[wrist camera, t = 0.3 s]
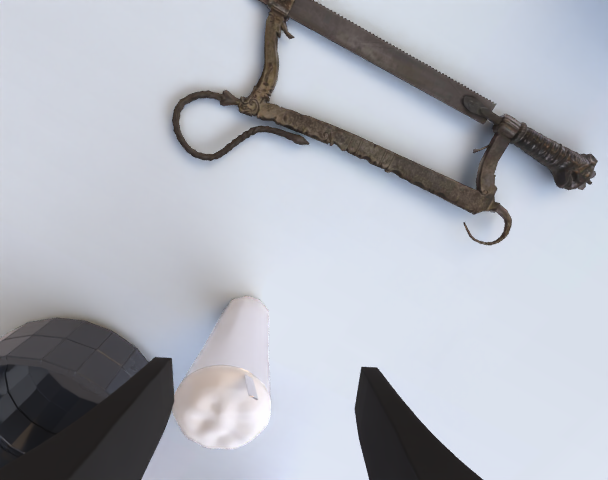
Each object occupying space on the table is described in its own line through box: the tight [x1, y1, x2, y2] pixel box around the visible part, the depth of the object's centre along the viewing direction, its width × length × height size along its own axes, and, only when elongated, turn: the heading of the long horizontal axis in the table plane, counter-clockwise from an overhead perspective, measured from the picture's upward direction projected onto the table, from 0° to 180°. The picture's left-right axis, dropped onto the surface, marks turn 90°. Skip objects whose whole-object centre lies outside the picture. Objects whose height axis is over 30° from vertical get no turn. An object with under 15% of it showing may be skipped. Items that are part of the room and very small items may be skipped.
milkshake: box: [172, 296, 271, 449], centre depth 18 cm, size 5×5×10 cm
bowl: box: [0, 318, 149, 468], centre depth 22 cm, size 12×12×4 cm
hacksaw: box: [172, 0, 598, 245], centre depth 19 cm, size 24×10×2 cm, turn 64°
